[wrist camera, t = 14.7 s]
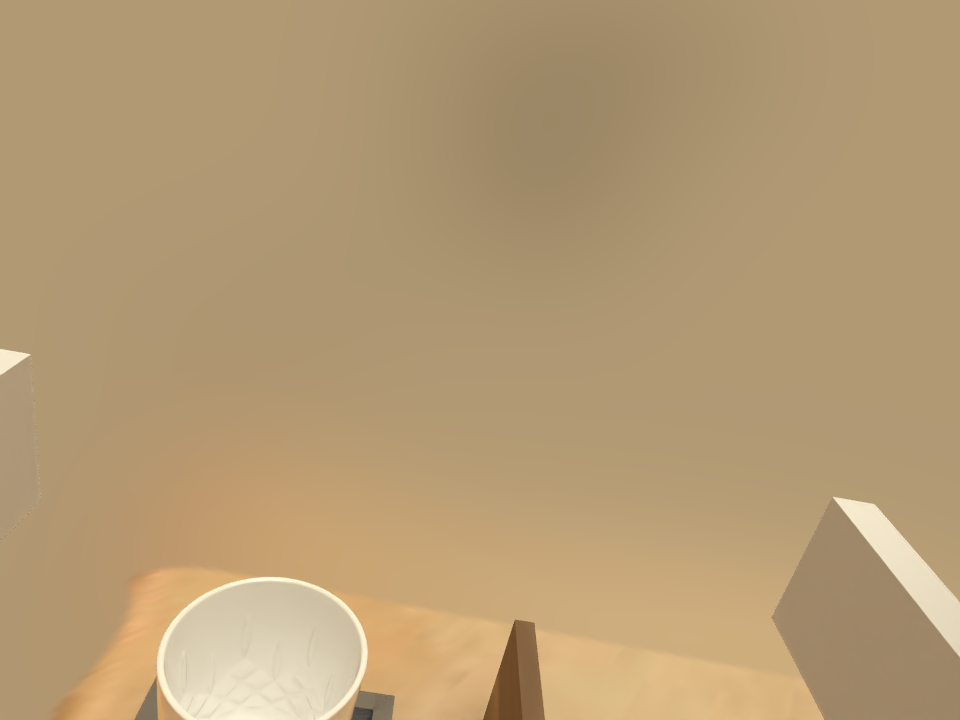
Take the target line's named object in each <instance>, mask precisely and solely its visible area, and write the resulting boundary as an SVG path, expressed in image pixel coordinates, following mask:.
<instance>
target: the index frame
mask: <svg viewBox="0 0 960 720" xmlns="http://www.w3.org/2000/svg"><path fill="white" fill-rule="evenodd" d="M394 697H395V696H391V695H385V694H378V693H371V692H365V691H359V694H358V698H357V701H356V705H355V709H354V712H353V716H352V719H351V720H392V713H393V705H394ZM135 720H158V719H157V677H156V679H155V681H154V683H153V685H152V687H151V689H150V691H149V693H148V694H147V696H146V698H145V700H144V702H143V704H142V706H141V708H140V710H139V712H138V714H137V716H136V718H135Z"/></svg>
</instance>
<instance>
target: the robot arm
mask: <svg viewBox="0 0 960 720" xmlns="http://www.w3.org/2000/svg"><path fill="white" fill-rule="evenodd" d="M31 367H32V366H31V355H30V354H25V353H20V352H14V351H8V350H3V349H0V542H1V541H2V540H3V539H4V538H5V537H6V536H7V535H8V534H9V533H10V532H11V530H12V529H13V528H14V527H15V526H16V525H17V524H18V523H19V522H20V521H21V520H22V519H23V518H24V517H25V516H26V515H27V514H28V513H29V512H30V511H31V509H33V507H35V506H36V505H37V503H38V502H39V501H40V485H39V470H38V455H37V440H36V426H35V411H34V397H33V381H32V368H31ZM772 619H773V621H774V623H775V625H776V627H777V629H778V631H779V632H780V634H781V636H782V638H783V640H784V642H785V644H786V646H787V648H788V650H789V652H790V654H791V656H792V658H793V659H794V661H795V663H796V665H797V667H798V669H799V671H800V673H801V675H802V677H803V679H804V681H805V683H806V685H807V687H808V688H809V690H810V692H811V694H812V696H813V698H814V700H815V702H816V704H817V706H818V708H819V710H820V712H821V714H822V716H823V717H824V719H825V720H960V602H959V601H958V600H957V598H956V597H955V596H954V595H953V594H952V593H951V592H950V590H949V589H948V588H947V587H946V586H945V585H944V584H943V582H942V581H941V580H940V579H939V578H938V577H937V576H936V574H935V573H934V572H933V571H932V570H931V569H930V568H929V566H928V565H927V564H926V563H925V562H924V561H923V559H922V558H921V557H920V556H919V555H918V554H917V553H916V551H915V550H914V549H913V548H912V547H911V546H910V545H909V543H908V542H907V541H906V540H905V539H904V538H903V537H902V535H901V534H900V533H899V532H898V531H897V530H896V528H895V527H894V526H893V525H892V524H891V523H890V522H889V521H888V519H887V518H886V517H885V516H884V515H883V514H882V512H881V511H880V510H879V509H878V508H877V507H876V506H875V505H874V504H870V503H864V502H858V501H853V500H847V499H842V498H836V497H832V499H831V501H830V503H829V505H828V507H827V509H826V511H825V513H824V515H823V517H822V519H821V521H820V523H819V525H818V527H817V529H816V531H815V533H814V535H813V537H812V539H811V541H810V542H809V544H808V547H807V548H806V550H805V552H804V555H803V556H802V558H801V560H800V562H799V564H798V566H797V568H796V570H795V572H794V575H793V576H792V578H791V580H790V582H789V584H788V586H787V588H786V590H785V592H784V594H783V596H782V598H781V600H780V602H779V604H778V606H777V608H776V610H775V612H774V614H773V616H772Z"/></svg>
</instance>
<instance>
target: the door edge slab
mask: <svg viewBox="0 0 960 720" xmlns="http://www.w3.org/2000/svg"><path fill="white" fill-rule="evenodd" d="M483 720H545V717H544V708H543V698H542V689H541V680H540V671H539V662H538V653H537V644H536V634H535V625H534V623H532V622H526V621H519V620H515V621H514V624H513V627H512V631H511V634H510V637H509V640H508V643H507V646H506V649H505V652H504V656H503V659H502V662H501V665H500V668H499V671H498V674H497V678H496V681H495V684H494V687H493V690H492V693H491V696H490V700H489V703H488V706H487V709H486V712H485V715H484V718H483Z"/></svg>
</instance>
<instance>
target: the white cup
mask: <svg viewBox="0 0 960 720" xmlns="http://www.w3.org/2000/svg"><path fill="white" fill-rule="evenodd" d="M367 657H368V650H367V641H366V637H365V633H364V631H363V628H362V626H361V624H360V622H359V620H358V619H357V617H356V616H355V614H354V613H353V612H352V610H351V609H350V608H349V607H348V606H347V605H346V604H345V603H344V602H343V601H341V600H340V599H339V598H338V597H336V596H335V595H333V594H332V593H330V592H328V591H327V590H325V589H323V588H321V587H318V586H316V585H313V584H310V583H307V582H304V581H300V580H296V579H290V578H282V577H258V578H250V579H244V580H239V581H235V582H232V583H228V584H225V585H223V586H220V587H218V588H215V589H213V590H211V591H209V592H207V593H205V594H203V595H202V596H200V597H199V598H197V599H196V600H194V601H193V602H191V603H190V604H189V605H188V606H186V607H185V608H184V609H183V610H182V611H181V612H180V613H179V614H178V615H177V616H176V617H175V619H174V620H173V621H172V623H171V624H170V625H169V627H168V628H167V630H166V632H165V634H164V636H163V638H162V640H161V643H160V646H159V649H158V654H157V663H156V670H157V719H158V720H351V719H352V716H353V712H354V709H355V705H356V701H357V698H358V694H359V691H360V687H361V684H362V680H363V677H364V673H365V670H366V665H367Z"/></svg>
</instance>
